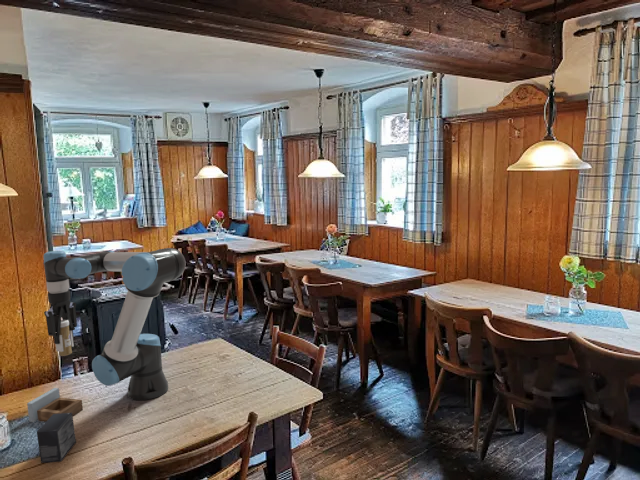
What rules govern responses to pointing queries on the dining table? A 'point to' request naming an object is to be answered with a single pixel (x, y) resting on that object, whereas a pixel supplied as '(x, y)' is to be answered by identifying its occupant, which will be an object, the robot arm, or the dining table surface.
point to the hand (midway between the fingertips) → (65, 348)
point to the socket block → (59, 408)
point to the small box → (56, 437)
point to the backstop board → (41, 403)
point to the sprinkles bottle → (65, 338)
